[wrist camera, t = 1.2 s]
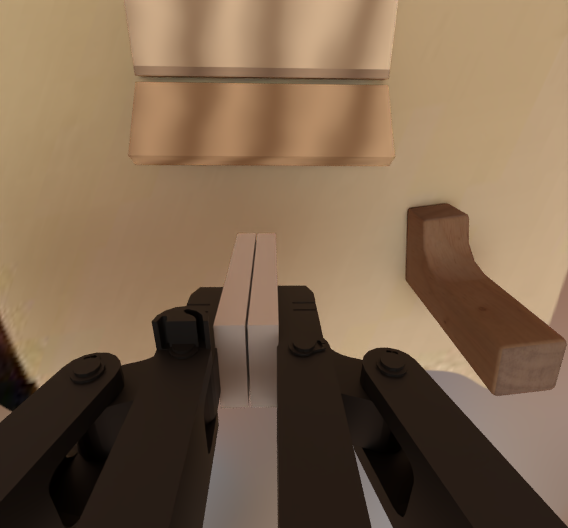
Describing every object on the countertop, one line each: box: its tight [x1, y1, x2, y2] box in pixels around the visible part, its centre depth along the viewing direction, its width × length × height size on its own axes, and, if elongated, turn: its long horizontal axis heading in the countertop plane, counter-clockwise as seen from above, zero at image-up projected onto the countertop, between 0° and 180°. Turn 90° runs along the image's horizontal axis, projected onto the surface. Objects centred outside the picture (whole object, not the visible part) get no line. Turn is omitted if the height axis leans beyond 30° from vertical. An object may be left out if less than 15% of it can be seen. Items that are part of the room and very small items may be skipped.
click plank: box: [128, 82, 395, 166], centre depth 30 cm, size 22×7×2 cm
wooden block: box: [406, 204, 566, 396], centre depth 31 cm, size 9×4×18 cm, turn 7°
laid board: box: [124, 0, 398, 80], centre depth 29 cm, size 22×6×2 cm, turn 89°
